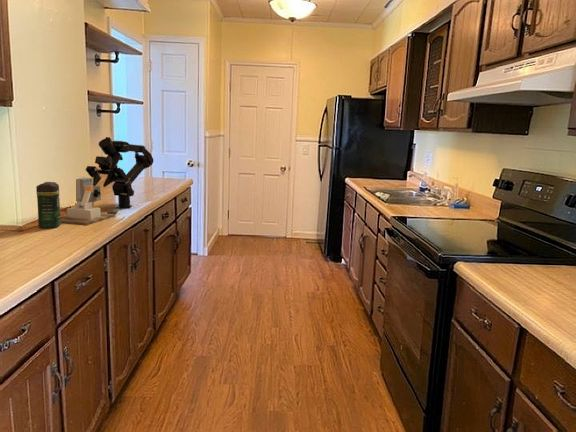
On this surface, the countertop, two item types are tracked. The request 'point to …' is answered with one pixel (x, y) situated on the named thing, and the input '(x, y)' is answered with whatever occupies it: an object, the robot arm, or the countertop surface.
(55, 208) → the coffee jar
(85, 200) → the lever
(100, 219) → the mounting board
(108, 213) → the twin rounded prongs
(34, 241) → the countertop surface
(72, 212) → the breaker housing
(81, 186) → the circuit breaker
